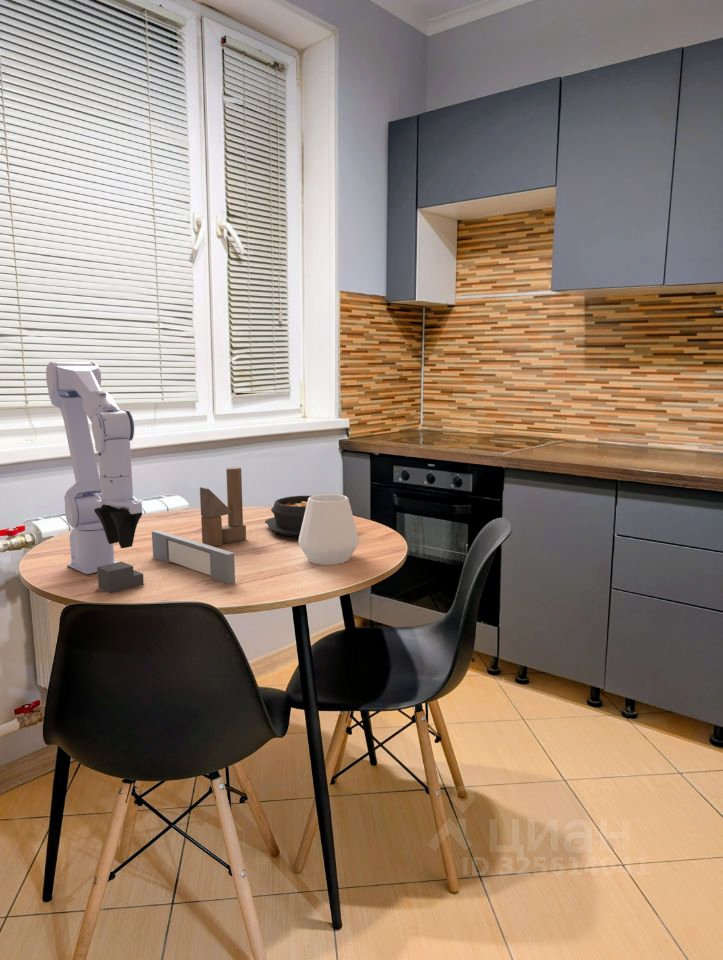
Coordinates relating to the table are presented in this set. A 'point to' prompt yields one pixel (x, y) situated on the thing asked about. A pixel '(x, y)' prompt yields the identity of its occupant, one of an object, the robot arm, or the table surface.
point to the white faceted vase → (328, 530)
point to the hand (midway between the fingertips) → (120, 544)
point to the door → (189, 556)
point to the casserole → (288, 515)
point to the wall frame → (219, 558)
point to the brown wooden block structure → (223, 512)
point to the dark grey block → (118, 577)
